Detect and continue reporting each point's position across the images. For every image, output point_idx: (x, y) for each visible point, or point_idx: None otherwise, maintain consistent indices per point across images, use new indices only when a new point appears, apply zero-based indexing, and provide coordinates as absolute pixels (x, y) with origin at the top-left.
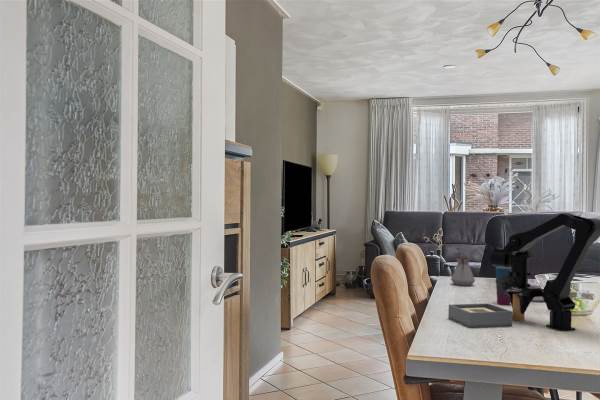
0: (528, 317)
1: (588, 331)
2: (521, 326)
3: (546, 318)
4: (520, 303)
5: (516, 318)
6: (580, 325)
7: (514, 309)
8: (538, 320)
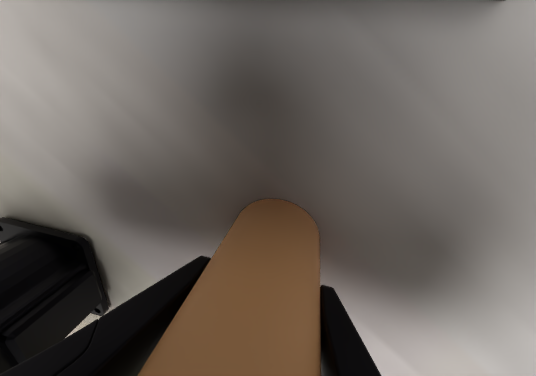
0: None
1: None
2: (68, 76)
3: None
4: (102, 345)
5: (250, 209)
6: None
7: (246, 256)
8: None
